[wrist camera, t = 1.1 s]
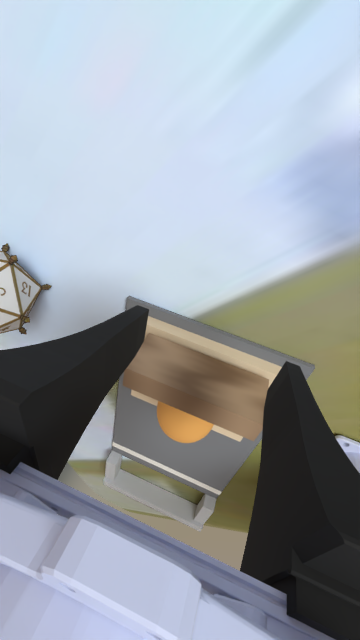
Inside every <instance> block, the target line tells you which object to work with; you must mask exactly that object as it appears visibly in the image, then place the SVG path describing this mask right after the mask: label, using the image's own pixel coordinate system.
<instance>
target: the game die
mask: <svg viewBox="0 0 360 640" xmlns="http://www.w3.org/2000/svg"><path fill="white" fill-rule="evenodd" d="M1 249H2V251H0V334H1V333H5V332H9V331H13V330H17V329H19V332H21V334H26V329H25V328H23V327H22V326H23V324H24V322H25V323H27V322H30V319H29V317H27V316H28V314H29V313H30V311H31V309H32V307H33V305H34V303H35V301H36V299H37V297H38V296H39V294H40V292H41V290H42V289H44V290H48V289H49V288H51V287H52V286H50V285H47V284H46V285H45V284H44V285H42V286H41V285H40V284H39V283H38V282H37V281H35V280H34V279H33V278H32V277H31V276H30V275H29V274H28V273H27V272H26V271H25V270H24V269H23V268H22V267H21V266H20V265H19V264H18V263H17V262H16V261H18V260H17V256H16V255H15V256H11V257H10V256H9V255H8V254H7V253H6V252H7V251H8V249H9V247H8V244H6V245H3V246H2V248H1Z"/></svg>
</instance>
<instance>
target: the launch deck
mask: <svg viewBox="0 0 360 640" xmlns="http://www.w3.org/2000/svg"><path fill="white" fill-rule="evenodd" d="M137 305H139V306H142V307H144V308H147V309H149V314H148V320H147V326H146V332H145V338H146V337H147V335H148V334H149V333H151V334H154V335H157V336H159V337H162V338H164V339H167V340H169V341H172V342H174V343H177V344H180V345H182V346H185V347H187V348H190V349H192V350H195V351H198V352H200V353H203V354H205V355H208V356H210V357H213V358H215V359H218V360H221V361H223V362H226V363H228V364H231V365H233V366H236V367H239V368H241V369H244V370H246V371H249V372H251V373H254V374H257V375H259V376H262V377H264V378H267V379H269V387H270V385H271V384H272V382H273V380H274V379H275V377H276V376H277V374H278V373H279V371H280V370H281V368H282V366H283V365H284V363H285V362H286V361H288V362H290V363H293V364H296V365H298V366H300V368H301V370H302V372H303V374H304V377H305V379H306V380H307V378H308V377H309V376H310V374H311V373H312V372H313V370H314V369H315V365H313V364H310V363H307V362H305V361H302V360H299V359H297V358H294V357H291V356H289V355H286V354H283V353H281V352H278V351H275V350H272V349H270V348H267V347H264V346H262V345H259V344H256V343H254V342H251V341H248V340H246V339H243V338H240V337H238V336H235V335H232V334H230V333H227V332H224V331H222V330H219V329H216V328H214V327H211V326H208V325H206V324H203V323H200V322H198V321H195V320H192V319H190V318H187V317H184V316H182V315H179V314H176V313H173V312H171V311H168V310H165V309H163V308H160V307H157V306H155V305H152V304H149V303H147V302H144V301H141V300H139V299H136V298H133V297H131V296H129V297H128V298H127V304H126V311H127V310H129V309H130V308H132V307H134V306H137ZM145 338H144V339H145ZM123 377H124V372H123V373H122V375H121V376H120V377H119V385H118V395H117V405H116V415H115V426H114V436H113V444H112V451H111V453H110V455H109V457H108V458H107V460H106V470H105V478H104V480H103V485H105V486H107V487H109V488H112V489H114V490H116V491H118V492H120V493H122V494H124V495H126V496H128V497H130V498H132V499H134V500H136V501H138V502H140V503H142V504H144V505H146V506H148V507H151V508H153V509H155V510H157V511H159V512H161V513H163V514H165V515H167V516H169V517H171V518H173V519H175V520H177V521H179V522H181V523H183V524H185V525H187V526H190V527H192V528H194V529H196V530H198V531H201V529H202V528H203V524H204V523H205V522H206V521H207V519H208V518H209V517H210V516H211V514H212V513H213V512H214V508H215V503H216V499H217V497H218V496H219V495H220V494H221V492H222V491H223V489H224V488H225V487H226V485H227V484H228V483H229V481H230V480H231V479H232V477H233V476H234V475H235V474H236V472H237V471H238V470H239V468H240V467H241V466H242V464H243V463H244V462H245V460H246V459H247V458H248V456H249V455H250V454H251V452H252V451H253V450H254V448H255V447H256V446H257V444H258V443H259V442H260V440H261V439H262V431H261V432H260V434H259V435H258V436H257V438H256V439H255V440H254V441H252V440H249V439H247V438H244V437H242V436H240V435H237V434H235V433H233V432H230V431H228V430H226V429H223V428H221V427H219V426H216V425H213V427H212V429H211V431H210V432H209V433H208V434H207V435H206V436H205V437H204V438H202V439H201V440H199V441H196V442H193V443H181V442H177V441H175V440H173V439H171V438H170V437H168V436H167V435H166V434H165V433H164V431H163V430H162V429H161V427H160V425H159V422H158V418H157V405H158V400H155V399H153V398H151V397H148V396H146V395H144V394H141V393H139V392H136V391H134V390H132V389H129V388H127V387H125V386H123ZM262 430H263V429H262ZM122 455H123V456H125V457H127V458H130V459H132V460H134V461H136V462H138V463H140V464H142V465H145V466H147V467H149V468H151V469H153V470H155V471H158V472H160V473H162V474H164V475H166V476H168V477H170V478H173V479H175V480H177V481H179V482H181V483H183V484H185V485H188V486H190V487H192V488H194V489H196V490H198V491H201V492H203V493H205V494H204V496H203V497H202V499H201V500H200V502H199V503H198V505H196V504H194V503H192V502H190V501H187V500H185V499H183V498H181V497H179V496H177V495H175V494H173V493H171V492H168V491H166V490H164V489H162V488H160V487H158V486H156V485H154V484H152V483H149V482H147V481H145V480H143V479H141V478H139V477H137V476H135V475H133V474H130V473H128V472H126V471H124V470H122V469H120V467H121V460H122Z"/></svg>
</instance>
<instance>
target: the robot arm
mask: <svg viewBox="0 0 360 640" xmlns="http://www.w3.org/2000/svg"><path fill="white" fill-rule="evenodd" d="M148 314H149V309H147V308H144V307H142V306H139V305H137V306H134V307H132V308H130V309H129V310H127V311H125V312H123V313H121V314H119V315H117V316H115V317H113V318H111V319H109V320H107V321H105V322H103V323H100V324H98V325H96V326H93V327H91V328H89V329H86V330H84V331H81V332H78V333H76V334H73V335H70V336H66V337H63V338H60V339H56V340H52V341H48V342H44V343H40V344H36V345H31V346H26V347H20V348H14V349H7V350H0V640H360V443H359V442H356V441H354V440H351V439H349V438H346V437H344V436H341V435H337V436H334V435H333V433H332V431H331V430H330V428H329V426H328V424H327V422H326V421H325V419H324V417H323V415H322V413H321V411H320V409H319V407H318V405H317V403H316V401H315V399H314V397H313V395H312V392H311V390H310V388H309V386H308V384H307V381H306V379H305V377H304V374H303V372H302V370H301V368H300V366H298V365H296V364H293V363H290V362H288V361H286V362H285V363H284V365H283V366H282V368H281V370H280V371H279V373H278V374H277V376H276V377H275V379H274V380H273V382H272V384H271V385H270V387H269V388H268V390H267V395H266V400H265V405H264V413H263V430H262V449H261V463H260V471H259V477H258V483H257V490H256V495H255V501H254V506H253V512H252V517H251V522H250V527H249V532H248V537H247V542H246V546H245V551H244V555H243V560H242V564H241V568H240V571H238V570H237V569H235V568H233V567H231V566H229V565H226V564H225V563H223V562H221V561H219V560H217V559H215V558H213V557H211V556H209V555H207V554H204V553H203V552H201V551H198V550H196V549H195V548H192V547H190V546H188V545H186V544H184V543H182V542H180V541H178V540H176V539H174V538H172V537H170V536H168V535H166V534H164V533H162V532H160V531H158V530H156V529H154V528H152V527H150V526H148V525H146V524H144V523H142V522H140V521H138V520H136V519H134V518H132V517H130V516H128V515H126V514H124V513H122V512H120V511H118V510H116V509H114V508H112V507H110V506H108V505H106V504H104V503H102V502H100V501H98V500H96V499H94V498H92V497H90V496H88V495H86V494H84V493H82V492H80V491H78V490H76V489H74V488H72V487H70V486H68V485H66V484H64V483H62V482H60V481H58V478H59V476H60V474H61V472H62V470H63V468H64V467H65V465H66V463H67V461H68V459H69V457H70V455H71V454H72V452H73V450H74V448H75V446H76V445H77V443H78V441H79V439H80V438H81V436H82V434H83V432H84V431H85V429H86V427H87V425H88V424H89V422H90V420H91V419H92V417H93V415H94V414H95V412H96V410H97V409H98V407H99V405H100V404H101V402H102V401H103V399H104V397H105V396H106V395H107V393H108V392H109V390H110V389H111V388H112V386H113V385H114V384H115V383H116V381H117V380H118V379H119V377H120V376H121V375H122V373H123V372H124V371H125V369H126V368H127V367H128V366H129V364H130V363H131V362H132V360H133V359H134V357H135V356H136V354H137V352H138V351H139V349H140V347H141V345H142V344H143V342H144V338H145V332H146V326H147V320H148ZM57 514H58V515H57Z"/></svg>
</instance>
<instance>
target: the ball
mask: <svg viewBox="0 0 360 640" xmlns="http://www.w3.org/2000/svg"><path fill="white" fill-rule="evenodd" d="M157 418H158V422H159V425H160V427H161V429H162V430H163V431H164V433H165V434H166V435H167V436H168V437H170V438H171V439H173V440H175V441H177V442H181V443H193V442H196V441H199V440H201V439H202V438H204V437H205V436H206V435H207V434H208V433H209V432H210V431H211V429H212V427H213V425H214V424H212V423H209V422H207V421H205V420H202V419H200V418H198V417H195V416H193V415H190V414H188V413H186V412H183V411H181V410H179V409H176V408H174V407H172V406H169V405H167V404H165V403H162V402H160V401H158V405H157Z"/></svg>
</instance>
